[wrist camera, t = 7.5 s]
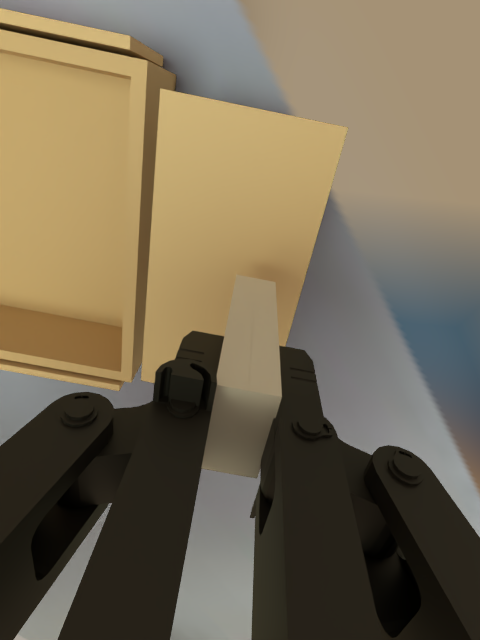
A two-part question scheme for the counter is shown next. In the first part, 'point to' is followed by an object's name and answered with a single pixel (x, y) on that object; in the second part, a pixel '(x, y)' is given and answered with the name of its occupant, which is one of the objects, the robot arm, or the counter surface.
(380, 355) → the counter surface
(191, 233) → the flap
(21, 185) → the tan shallow open box
